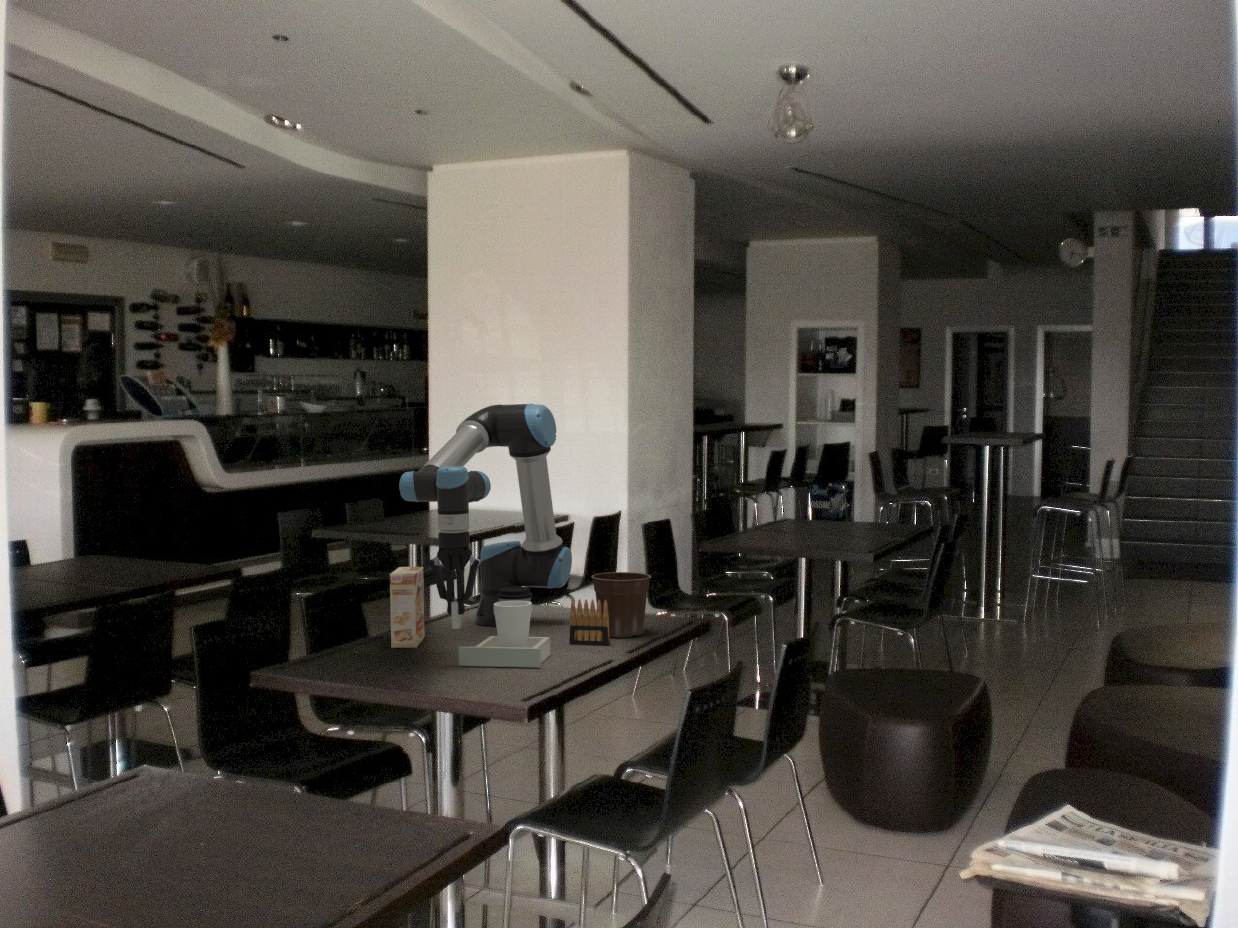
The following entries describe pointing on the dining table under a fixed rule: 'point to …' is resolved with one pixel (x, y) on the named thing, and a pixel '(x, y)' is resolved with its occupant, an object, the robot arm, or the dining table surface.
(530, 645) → the housing
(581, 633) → the ammunition clip
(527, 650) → the gate
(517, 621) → the foam cup
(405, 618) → the coffeecake box
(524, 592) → the coffee cup
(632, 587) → the plant pot
